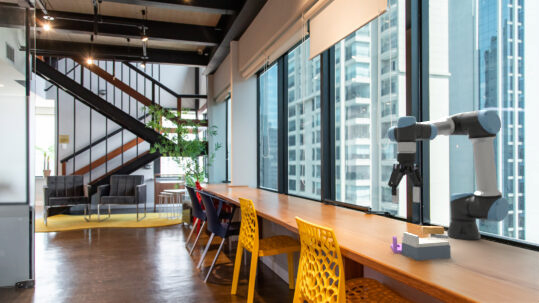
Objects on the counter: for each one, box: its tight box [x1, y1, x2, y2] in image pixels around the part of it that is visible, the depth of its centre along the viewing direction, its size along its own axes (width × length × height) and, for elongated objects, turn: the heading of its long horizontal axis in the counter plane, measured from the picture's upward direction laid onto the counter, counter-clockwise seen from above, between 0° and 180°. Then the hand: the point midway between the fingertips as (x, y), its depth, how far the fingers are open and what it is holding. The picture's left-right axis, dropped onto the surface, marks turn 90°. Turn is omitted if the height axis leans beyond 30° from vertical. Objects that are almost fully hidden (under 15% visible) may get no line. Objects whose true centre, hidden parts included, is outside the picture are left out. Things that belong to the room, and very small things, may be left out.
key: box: [420, 225, 450, 240], centre depth 159 cm, size 3×11×9 cm, turn 80°
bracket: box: [390, 235, 402, 254], centre depth 158 cm, size 13×6×7 cm, turn 168°
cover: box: [401, 231, 450, 248], centre depth 148 cm, size 16×9×4 cm, turn 105°
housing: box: [401, 242, 452, 262], centre depth 152 cm, size 22×17×5 cm
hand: (406, 202), depth 149 cm, fingers open, 13 cm apart
